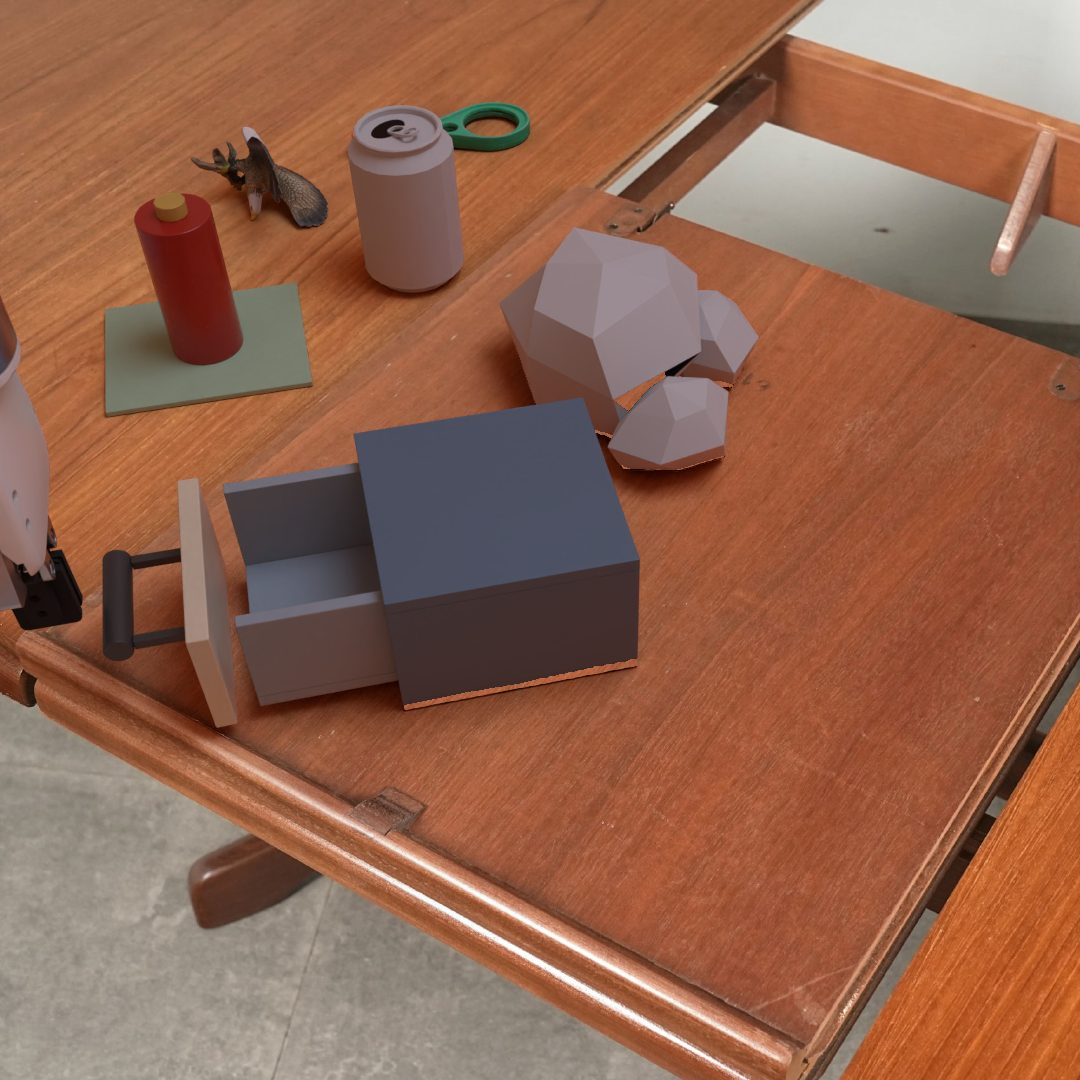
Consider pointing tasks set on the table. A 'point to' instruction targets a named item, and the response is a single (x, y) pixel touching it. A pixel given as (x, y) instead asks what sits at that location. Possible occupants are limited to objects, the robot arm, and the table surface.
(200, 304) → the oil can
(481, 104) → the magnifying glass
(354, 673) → the drawer
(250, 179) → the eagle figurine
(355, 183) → the can
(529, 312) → the rock
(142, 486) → the table surface
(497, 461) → the cabinet
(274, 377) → the mat
